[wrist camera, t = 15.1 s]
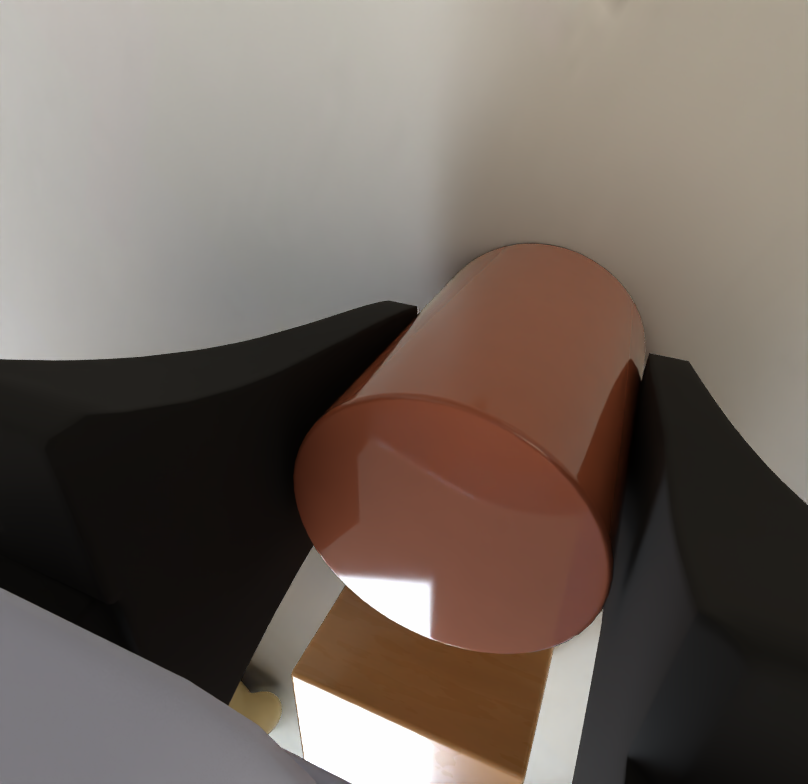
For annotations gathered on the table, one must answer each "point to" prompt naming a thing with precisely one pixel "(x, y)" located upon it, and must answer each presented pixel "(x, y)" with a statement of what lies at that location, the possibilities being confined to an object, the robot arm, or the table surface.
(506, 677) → the block
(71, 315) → the table surface
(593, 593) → the canister
